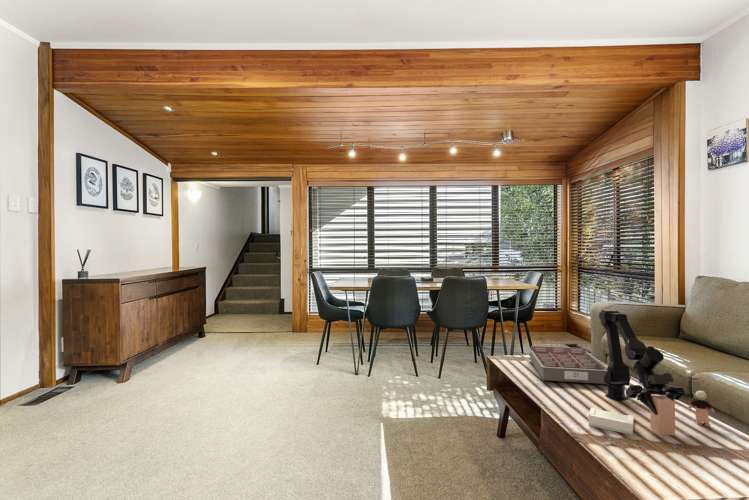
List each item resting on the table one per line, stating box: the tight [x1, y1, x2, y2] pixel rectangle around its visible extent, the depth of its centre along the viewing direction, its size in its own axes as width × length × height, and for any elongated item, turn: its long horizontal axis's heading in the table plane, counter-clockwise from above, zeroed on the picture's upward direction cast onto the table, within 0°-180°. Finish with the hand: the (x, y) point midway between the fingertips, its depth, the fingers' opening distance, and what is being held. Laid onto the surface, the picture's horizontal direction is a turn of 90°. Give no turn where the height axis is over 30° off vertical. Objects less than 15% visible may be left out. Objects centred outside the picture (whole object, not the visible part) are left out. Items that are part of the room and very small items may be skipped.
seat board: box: [588, 407, 635, 436], centre depth 152 cm, size 16×14×4 cm
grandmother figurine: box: [687, 390, 716, 427], centre depth 150 cm, size 8×4×13 cm, turn 71°
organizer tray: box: [528, 345, 608, 385], centre depth 214 cm, size 32×40×10 cm
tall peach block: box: [649, 395, 676, 436], centre depth 144 cm, size 6×5×12 cm
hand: (664, 414), depth 143 cm, fingers closed on tall peach block, 5 cm apart
